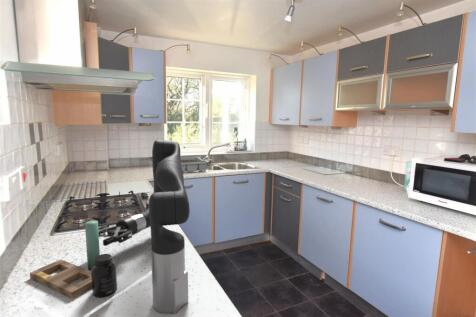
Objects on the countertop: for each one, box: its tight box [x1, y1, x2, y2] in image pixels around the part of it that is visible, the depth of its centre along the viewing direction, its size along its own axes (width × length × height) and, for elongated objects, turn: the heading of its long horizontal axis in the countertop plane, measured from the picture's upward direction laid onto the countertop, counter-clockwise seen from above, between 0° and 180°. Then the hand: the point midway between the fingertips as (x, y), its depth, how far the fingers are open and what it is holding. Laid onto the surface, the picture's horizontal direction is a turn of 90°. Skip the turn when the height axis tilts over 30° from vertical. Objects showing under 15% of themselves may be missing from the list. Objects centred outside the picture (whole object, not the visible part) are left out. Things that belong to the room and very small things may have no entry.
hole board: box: [29, 258, 92, 300], centre depth 92 cm, size 22×10×3 cm, turn 63°
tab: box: [78, 261, 92, 271], centre depth 101 cm, size 9×9×1 cm
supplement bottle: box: [91, 253, 118, 299], centre depth 86 cm, size 7×7×12 cm
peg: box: [84, 220, 101, 269], centre depth 100 cm, size 4×4×16 cm
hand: (95, 240), depth 100 cm, fingers open, 8 cm apart
